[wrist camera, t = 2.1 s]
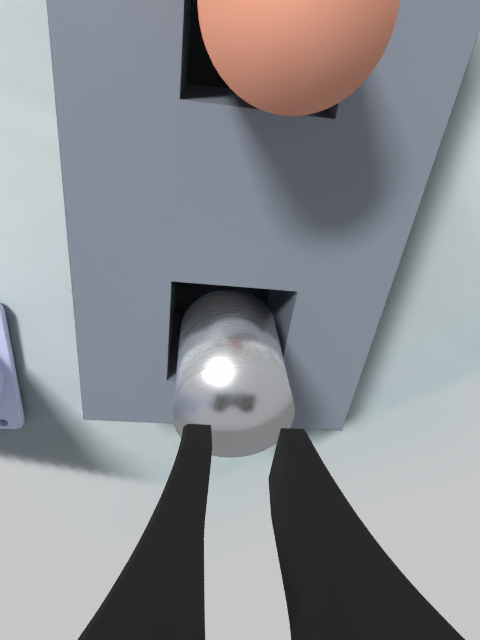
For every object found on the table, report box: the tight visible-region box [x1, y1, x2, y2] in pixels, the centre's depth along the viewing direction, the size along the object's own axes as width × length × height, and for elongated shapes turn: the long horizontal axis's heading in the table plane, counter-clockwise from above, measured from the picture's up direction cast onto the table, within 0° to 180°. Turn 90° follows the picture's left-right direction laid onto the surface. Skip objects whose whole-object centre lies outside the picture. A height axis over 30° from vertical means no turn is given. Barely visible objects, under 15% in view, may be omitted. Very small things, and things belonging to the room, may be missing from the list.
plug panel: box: [46, 0, 480, 430], centre depth 16 cm, size 11×19×5 cm, turn 173°
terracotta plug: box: [197, 0, 400, 116], centre depth 10 cm, size 4×4×4 cm
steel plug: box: [173, 290, 295, 457], centre depth 15 cm, size 4×4×4 cm
